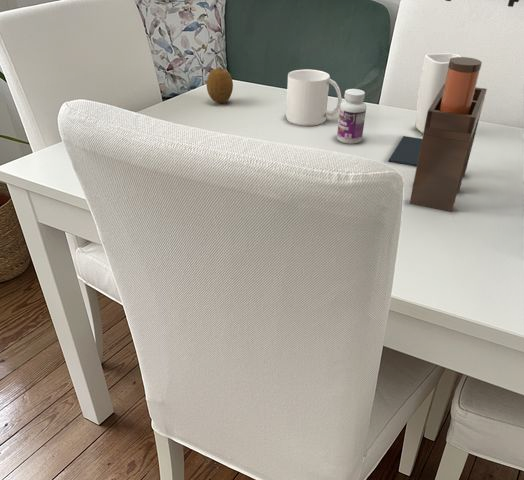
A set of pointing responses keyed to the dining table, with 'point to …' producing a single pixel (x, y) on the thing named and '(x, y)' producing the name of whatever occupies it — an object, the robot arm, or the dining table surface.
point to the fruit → (219, 85)
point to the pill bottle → (352, 117)
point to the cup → (431, 83)
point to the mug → (309, 97)
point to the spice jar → (460, 85)
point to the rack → (445, 153)
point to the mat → (407, 151)
